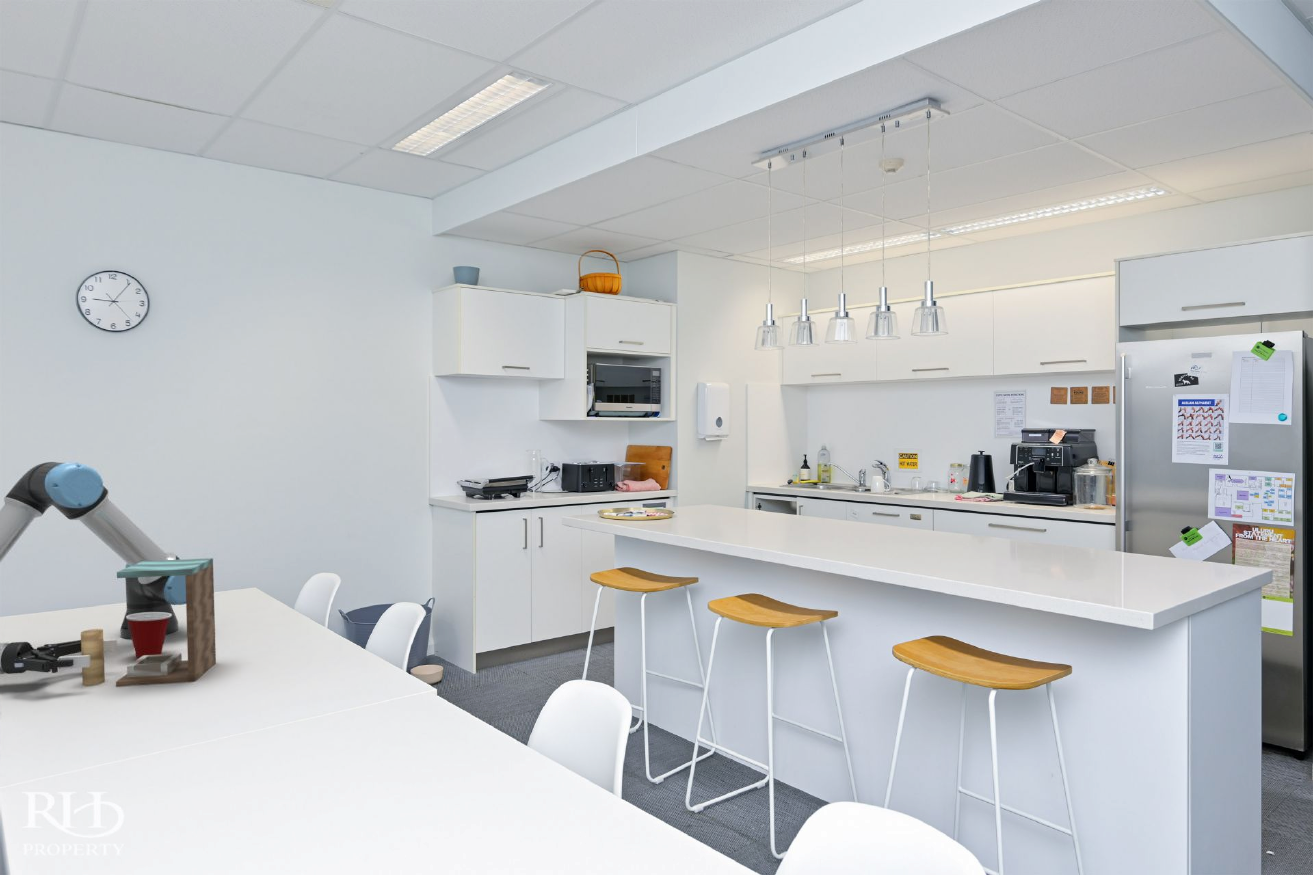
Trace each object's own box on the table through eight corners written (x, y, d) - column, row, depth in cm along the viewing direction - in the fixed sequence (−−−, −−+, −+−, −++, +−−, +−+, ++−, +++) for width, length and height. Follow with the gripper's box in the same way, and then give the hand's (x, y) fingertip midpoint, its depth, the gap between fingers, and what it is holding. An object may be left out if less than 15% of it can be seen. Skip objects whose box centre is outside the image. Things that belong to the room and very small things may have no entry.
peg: (88, 680, 205) (86, 629, 205) (108, 678, 206) (106, 628, 206) (78, 686, 201) (77, 634, 200) (99, 684, 202) (97, 633, 201)
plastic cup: (178, 656, 224) (177, 613, 224) (133, 665, 216) (132, 620, 216) (165, 649, 232) (164, 607, 231) (121, 657, 224) (120, 614, 223)
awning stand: (142, 667, 215) (139, 561, 214) (215, 662, 218) (212, 558, 217) (116, 686, 200) (112, 572, 199) (194, 681, 204) (191, 568, 203)
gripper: (37, 657, 212) (126, 652, 216) (-24, 690, 187) (77, 683, 191) (36, 629, 212) (125, 624, 216) (-26, 658, 187) (76, 652, 191)
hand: (103, 652), depth 203 cm, fingers open, 13 cm apart
